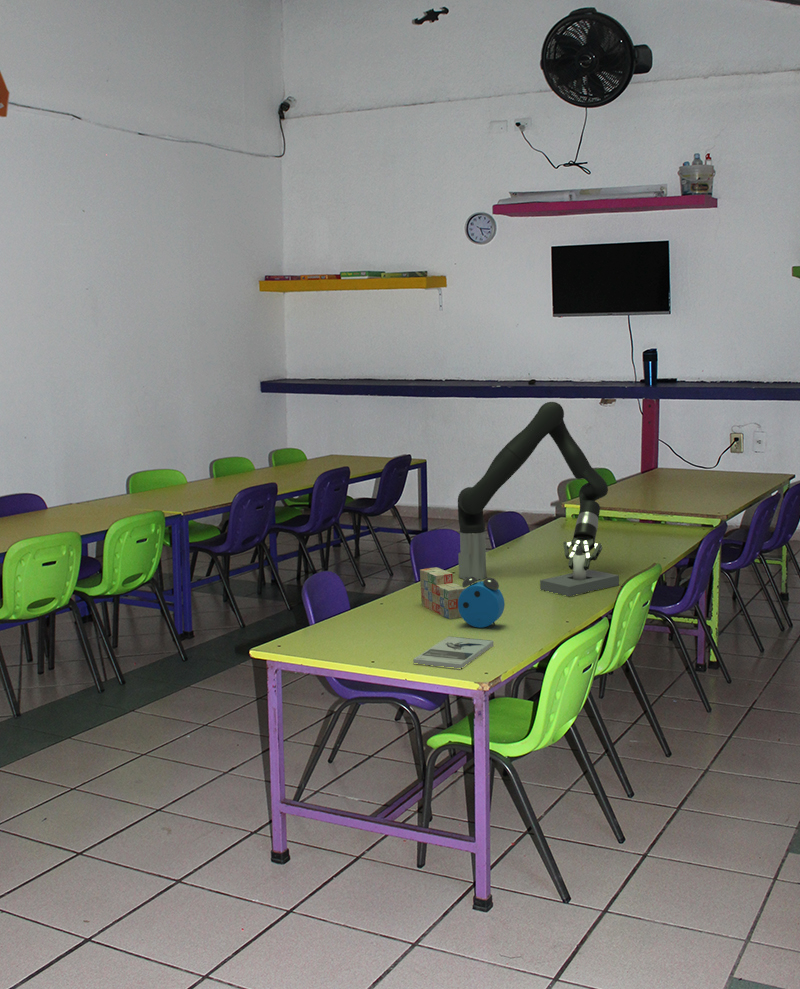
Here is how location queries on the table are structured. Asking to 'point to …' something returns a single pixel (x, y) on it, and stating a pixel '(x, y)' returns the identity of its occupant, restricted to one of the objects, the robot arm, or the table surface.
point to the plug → (579, 564)
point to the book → (453, 652)
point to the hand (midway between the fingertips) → (578, 568)
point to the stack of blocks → (440, 592)
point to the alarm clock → (480, 602)
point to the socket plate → (579, 583)
